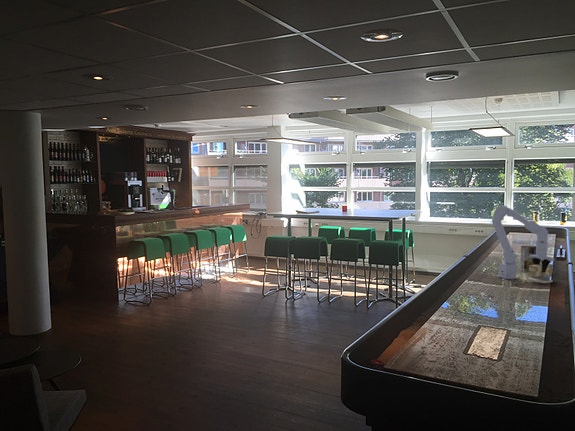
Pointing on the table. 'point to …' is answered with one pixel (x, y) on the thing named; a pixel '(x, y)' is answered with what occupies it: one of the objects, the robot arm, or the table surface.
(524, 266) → the coffee box
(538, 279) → the balance stand
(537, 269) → the ash beam
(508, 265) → the robot arm
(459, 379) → the table surface
